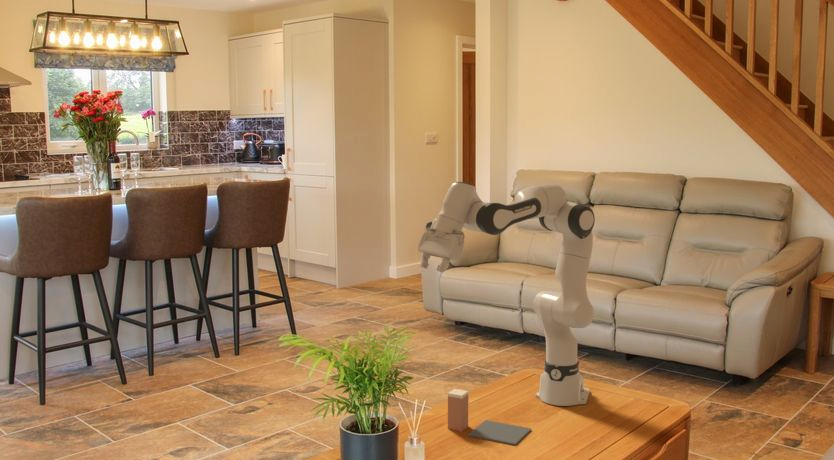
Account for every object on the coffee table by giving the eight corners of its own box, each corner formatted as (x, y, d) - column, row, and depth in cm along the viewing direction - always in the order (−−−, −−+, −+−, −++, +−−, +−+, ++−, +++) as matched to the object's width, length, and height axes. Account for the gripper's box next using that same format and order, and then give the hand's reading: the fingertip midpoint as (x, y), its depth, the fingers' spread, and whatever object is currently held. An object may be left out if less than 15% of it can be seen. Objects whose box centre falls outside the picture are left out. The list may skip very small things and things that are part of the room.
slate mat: (485, 421, 264) (485, 419, 264) (531, 430, 257) (531, 428, 257) (468, 435, 252) (468, 434, 252) (515, 445, 245) (515, 443, 245)
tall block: (454, 423, 263) (454, 388, 261) (468, 426, 260) (468, 391, 259) (447, 428, 258) (447, 393, 257) (461, 431, 256) (461, 395, 254)
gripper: (473, 235, 244) (457, 277, 242) (437, 230, 261) (422, 269, 259) (458, 228, 240) (441, 270, 239) (422, 223, 258) (407, 262, 256)
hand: (431, 269), depth 249 cm, fingers open, 8 cm apart
